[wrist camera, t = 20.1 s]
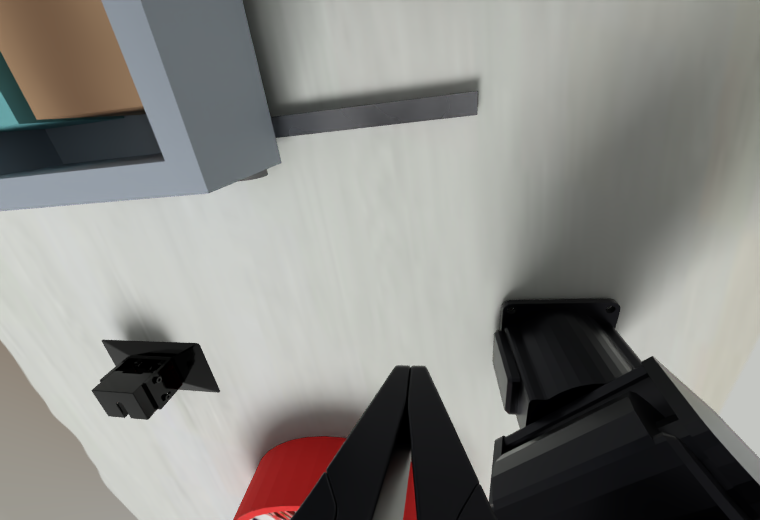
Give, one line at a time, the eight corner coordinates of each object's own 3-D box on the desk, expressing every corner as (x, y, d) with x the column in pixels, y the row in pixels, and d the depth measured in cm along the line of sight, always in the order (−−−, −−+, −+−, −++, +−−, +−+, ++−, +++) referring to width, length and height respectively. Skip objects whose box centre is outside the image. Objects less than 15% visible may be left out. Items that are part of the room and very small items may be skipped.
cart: (224, -123, 13) (17, -350, 6) (291, 170, 18) (214, 209, 11) (-23, -55, 15) (-361, -171, 9) (99, 188, 20) (-56, 229, 14)
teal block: (75, 3, 13) (-73, -38, 9) (124, 118, 15) (18, 123, 11) (-6, 21, 14) (-175, -10, 10) (50, 128, 16) (-73, 137, 12)
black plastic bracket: (121, 385, 30) (74, 429, 26) (85, 324, 27) (24, 364, 23) (240, 394, 28) (208, 442, 24) (216, 329, 25) (175, 373, 21)
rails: (480, -118, 12) (482, -126, 11) (475, 114, 15) (477, 114, 15) (5, -6, 16) (-7, -9, 15) (87, 158, 19) (79, 160, 19)
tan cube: (186, -22, 13) (73, -79, 9) (223, 104, 14) (144, 105, 10) (92, -3, 13) (-52, -47, 9) (139, 114, 15) (36, 119, 11)
